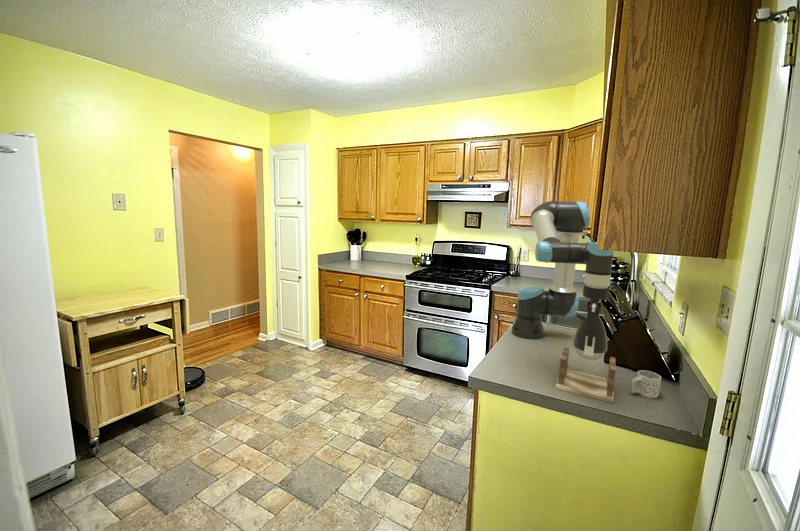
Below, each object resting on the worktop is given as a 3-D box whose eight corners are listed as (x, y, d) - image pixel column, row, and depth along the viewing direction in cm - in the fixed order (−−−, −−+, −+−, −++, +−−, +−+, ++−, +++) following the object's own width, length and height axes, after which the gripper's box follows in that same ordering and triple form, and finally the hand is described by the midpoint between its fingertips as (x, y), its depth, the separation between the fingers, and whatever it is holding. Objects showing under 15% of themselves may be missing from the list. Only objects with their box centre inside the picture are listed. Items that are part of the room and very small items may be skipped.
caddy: (561, 371, 135) (564, 345, 134) (613, 383, 127) (616, 355, 125) (555, 388, 122) (558, 360, 120) (613, 403, 113) (617, 373, 112)
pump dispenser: (575, 348, 130) (579, 308, 127) (608, 356, 123) (613, 314, 121) (568, 357, 122) (572, 314, 119) (602, 366, 115) (607, 321, 113)
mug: (646, 387, 124) (648, 369, 123) (663, 397, 118) (666, 378, 117) (621, 389, 122) (624, 371, 121) (638, 400, 116) (641, 380, 115)
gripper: (585, 279, 130) (579, 337, 133) (581, 290, 111) (574, 358, 114) (609, 282, 126) (602, 341, 130) (609, 293, 107) (601, 363, 110)
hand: (589, 349), depth 122 cm, fingers closed on pump dispenser, 10 cm apart
